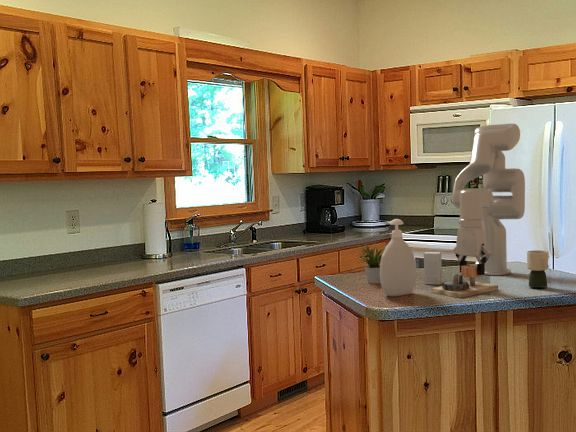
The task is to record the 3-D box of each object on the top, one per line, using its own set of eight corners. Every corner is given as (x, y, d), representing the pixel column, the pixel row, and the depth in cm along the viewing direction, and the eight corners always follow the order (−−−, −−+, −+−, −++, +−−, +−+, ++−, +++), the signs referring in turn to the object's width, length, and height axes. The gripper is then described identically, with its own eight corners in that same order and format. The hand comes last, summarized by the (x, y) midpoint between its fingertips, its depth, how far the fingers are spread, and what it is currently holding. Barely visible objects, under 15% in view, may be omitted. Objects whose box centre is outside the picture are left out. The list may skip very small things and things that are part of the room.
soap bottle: (408, 290, 216) (405, 216, 214) (421, 294, 208) (419, 217, 206) (373, 295, 210) (371, 219, 208) (386, 299, 203) (383, 220, 201)
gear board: (431, 292, 210) (430, 268, 210) (469, 284, 221) (468, 262, 220) (459, 298, 199) (459, 273, 199) (498, 289, 210) (497, 265, 209)
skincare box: (442, 282, 226) (441, 251, 225) (440, 285, 222) (439, 253, 221) (426, 282, 229) (425, 251, 228) (424, 284, 225) (423, 253, 224)
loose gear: (457, 275, 213) (457, 266, 213) (470, 273, 217) (470, 264, 216) (473, 278, 207) (473, 268, 207) (486, 275, 211) (486, 266, 210)
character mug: (556, 290, 205) (555, 252, 204) (537, 291, 204) (536, 254, 203) (538, 284, 216) (538, 249, 215) (520, 285, 215) (520, 250, 214)
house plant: (347, 284, 231) (346, 243, 229) (359, 278, 243) (357, 239, 242) (383, 286, 224) (381, 243, 223) (393, 279, 237) (391, 239, 236)
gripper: (445, 223, 216) (446, 271, 217) (484, 226, 201) (484, 277, 202) (459, 222, 220) (460, 269, 221) (498, 224, 205) (499, 275, 206)
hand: (472, 273), depth 212 cm, fingers closed on loose gear, 7 cm apart
